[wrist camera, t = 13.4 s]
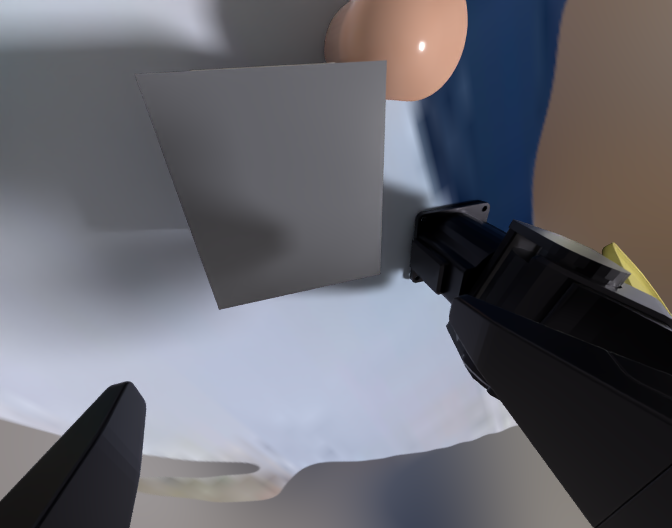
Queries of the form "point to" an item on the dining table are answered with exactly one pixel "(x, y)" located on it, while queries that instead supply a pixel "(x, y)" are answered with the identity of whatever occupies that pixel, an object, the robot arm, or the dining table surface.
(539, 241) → the robot arm
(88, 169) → the dining table surface
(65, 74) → the dining table surface
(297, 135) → the grey box
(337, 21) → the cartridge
